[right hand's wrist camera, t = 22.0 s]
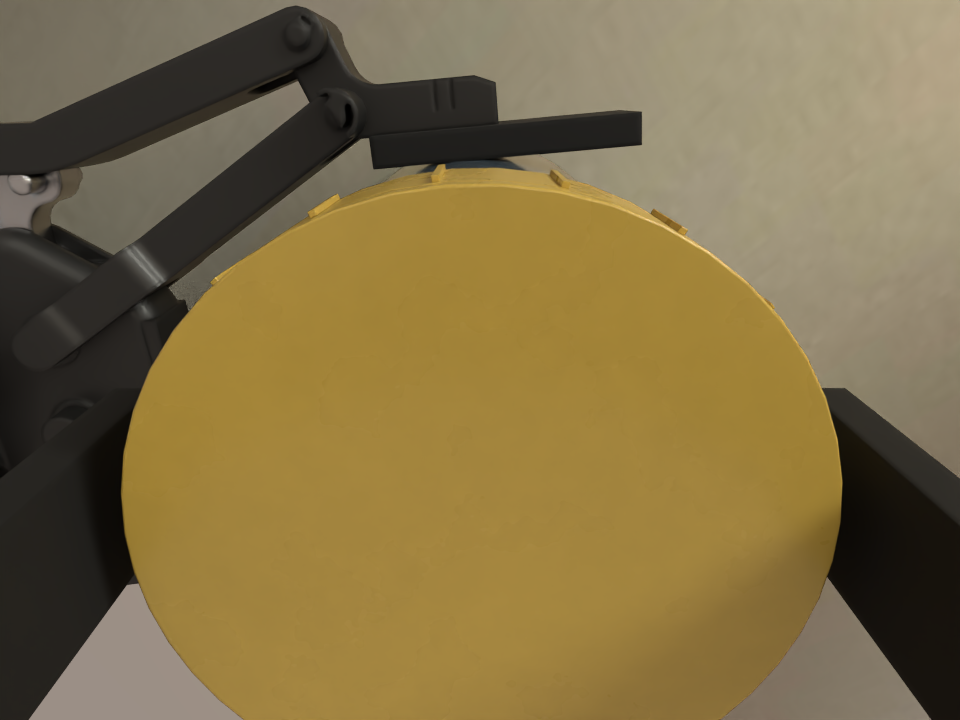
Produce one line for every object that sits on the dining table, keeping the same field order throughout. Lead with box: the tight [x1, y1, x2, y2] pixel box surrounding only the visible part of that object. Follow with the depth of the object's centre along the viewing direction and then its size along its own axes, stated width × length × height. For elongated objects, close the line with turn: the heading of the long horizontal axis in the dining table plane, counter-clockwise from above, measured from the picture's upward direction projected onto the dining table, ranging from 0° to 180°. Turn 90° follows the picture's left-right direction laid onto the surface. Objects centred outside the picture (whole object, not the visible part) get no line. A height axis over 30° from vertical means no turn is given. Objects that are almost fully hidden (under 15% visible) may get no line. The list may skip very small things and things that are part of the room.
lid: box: [121, 164, 842, 720], centre depth 11 cm, size 11×11×2 cm
